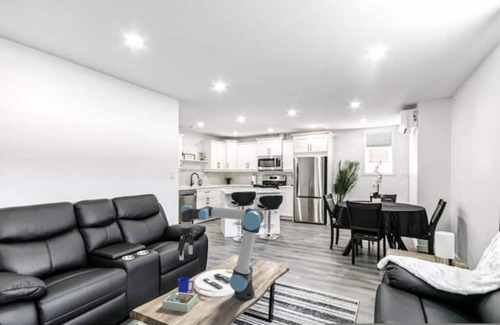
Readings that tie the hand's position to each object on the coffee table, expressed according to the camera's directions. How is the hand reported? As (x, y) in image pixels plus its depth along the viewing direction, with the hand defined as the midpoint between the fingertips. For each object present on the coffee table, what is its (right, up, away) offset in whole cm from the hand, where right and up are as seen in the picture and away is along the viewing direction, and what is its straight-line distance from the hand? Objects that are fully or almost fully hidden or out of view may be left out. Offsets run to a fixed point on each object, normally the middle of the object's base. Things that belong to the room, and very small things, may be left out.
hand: (186, 256), depth 188 cm
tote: (-1, -28, -12) cm, 31 cm away
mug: (-2, -29, +6) cm, 30 cm away
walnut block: (+3, -28, -13) cm, 31 cm away
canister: (-5, -28, -11) cm, 30 cm away
